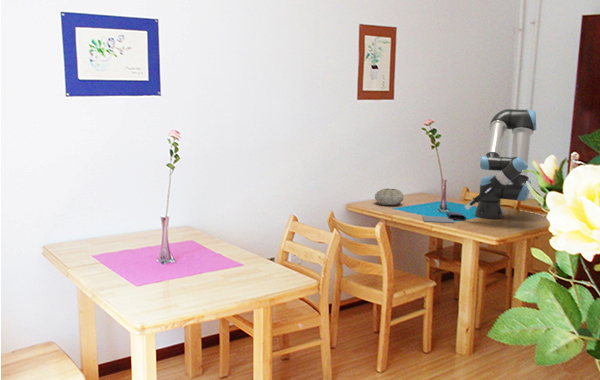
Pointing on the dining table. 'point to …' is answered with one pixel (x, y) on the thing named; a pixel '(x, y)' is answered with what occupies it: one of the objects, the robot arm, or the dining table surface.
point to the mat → (437, 219)
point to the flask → (456, 215)
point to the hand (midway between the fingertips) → (466, 208)
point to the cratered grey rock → (389, 196)
